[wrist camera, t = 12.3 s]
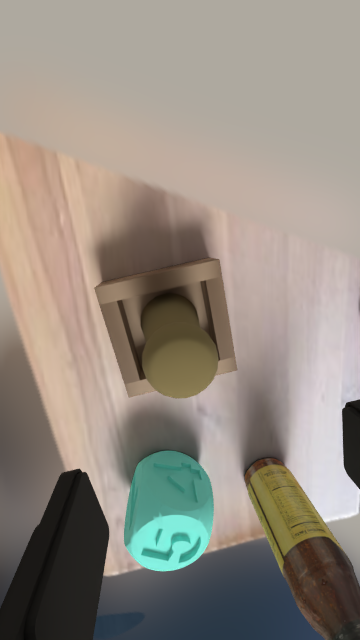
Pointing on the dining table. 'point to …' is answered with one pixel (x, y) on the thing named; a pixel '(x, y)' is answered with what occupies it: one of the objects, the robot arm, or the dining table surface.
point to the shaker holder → (137, 290)
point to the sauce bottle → (306, 551)
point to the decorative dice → (168, 511)
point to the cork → (176, 347)
